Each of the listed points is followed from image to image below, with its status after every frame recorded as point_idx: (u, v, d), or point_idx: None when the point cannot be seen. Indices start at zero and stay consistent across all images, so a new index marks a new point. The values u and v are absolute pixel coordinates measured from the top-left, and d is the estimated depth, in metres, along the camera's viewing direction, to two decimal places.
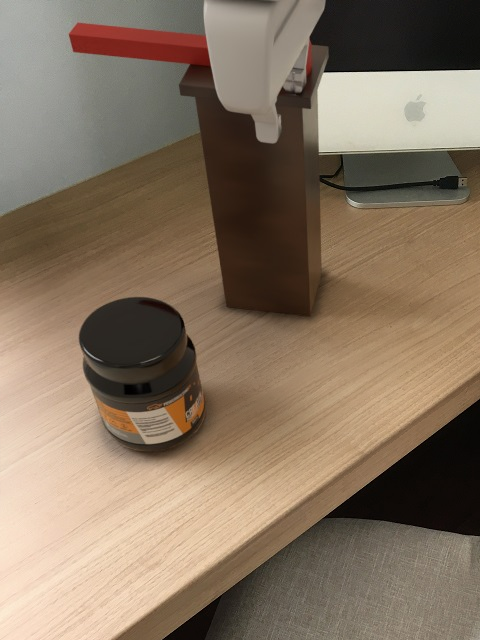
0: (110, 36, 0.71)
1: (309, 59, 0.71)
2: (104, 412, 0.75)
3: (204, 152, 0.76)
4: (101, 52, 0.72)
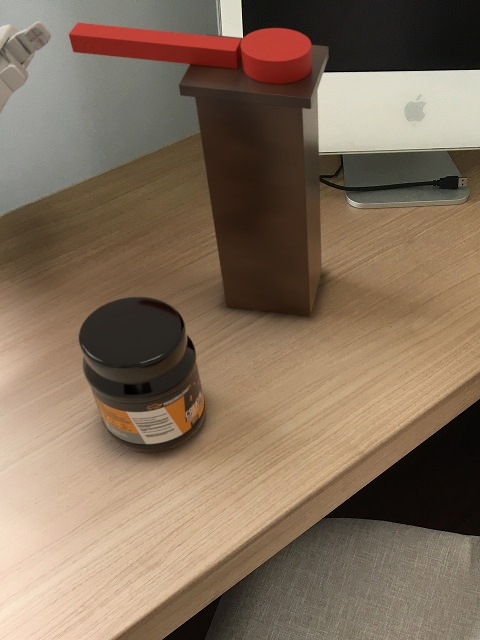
0: (110, 36, 0.71)
1: (309, 59, 0.71)
2: (104, 412, 0.75)
3: (204, 152, 0.76)
4: (101, 52, 0.72)
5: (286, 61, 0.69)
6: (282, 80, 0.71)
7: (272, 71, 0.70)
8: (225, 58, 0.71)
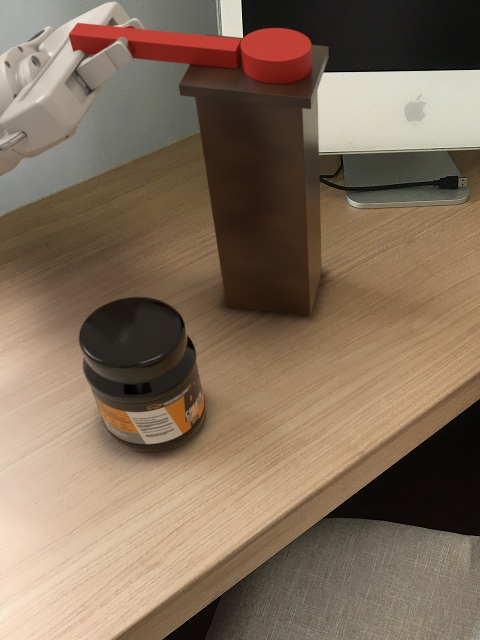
0: (110, 37, 0.71)
1: (309, 59, 0.71)
2: (104, 412, 0.75)
3: (204, 152, 0.76)
4: None
5: (286, 61, 0.69)
6: (282, 80, 0.71)
7: (272, 71, 0.70)
8: (225, 58, 0.71)
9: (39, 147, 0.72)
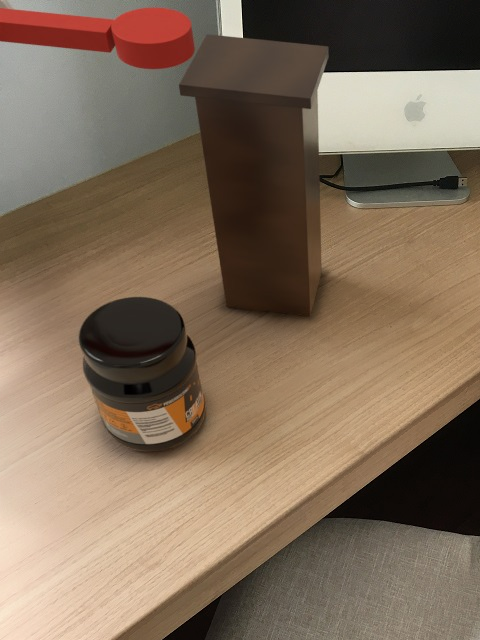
0: None
1: (188, 42, 0.64)
2: (104, 412, 0.75)
3: (204, 152, 0.76)
4: None
5: (159, 43, 0.62)
6: (158, 65, 0.64)
7: (145, 54, 0.63)
8: (95, 41, 0.64)
9: None
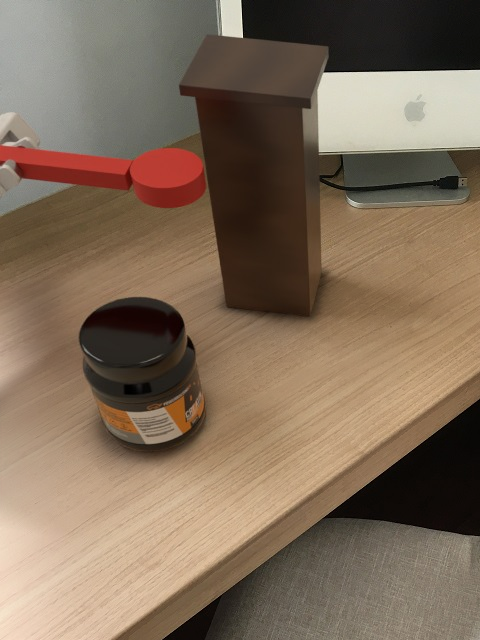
0: None
1: (200, 182, 0.70)
2: (104, 412, 0.75)
3: (204, 152, 0.76)
4: None
5: (174, 187, 0.68)
6: (172, 205, 0.69)
7: (161, 196, 0.69)
8: (115, 181, 0.70)
9: None
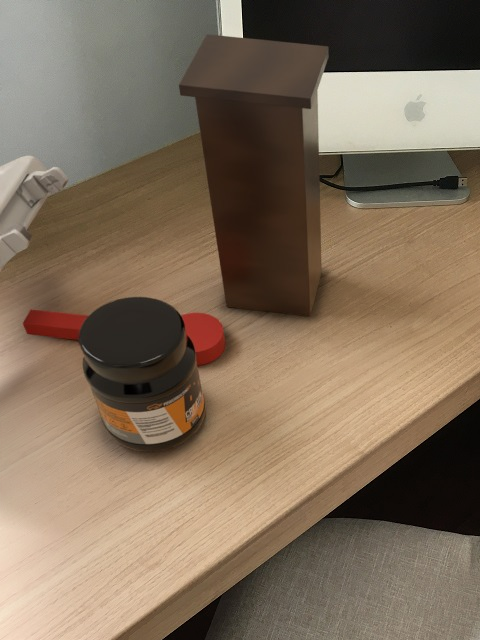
0: (56, 325, 0.86)
1: (221, 343, 0.86)
2: (104, 412, 0.75)
3: (204, 152, 0.76)
4: (50, 335, 0.87)
5: (201, 351, 0.85)
6: (199, 363, 0.86)
7: None
8: None
9: None
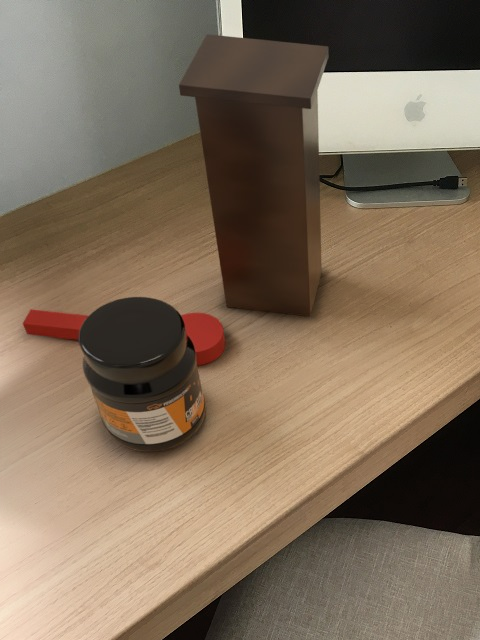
0: (56, 325, 0.86)
1: (221, 343, 0.86)
2: (104, 412, 0.75)
3: (204, 152, 0.76)
4: (50, 335, 0.87)
5: (201, 351, 0.85)
6: (199, 363, 0.86)
7: None
8: None
9: None
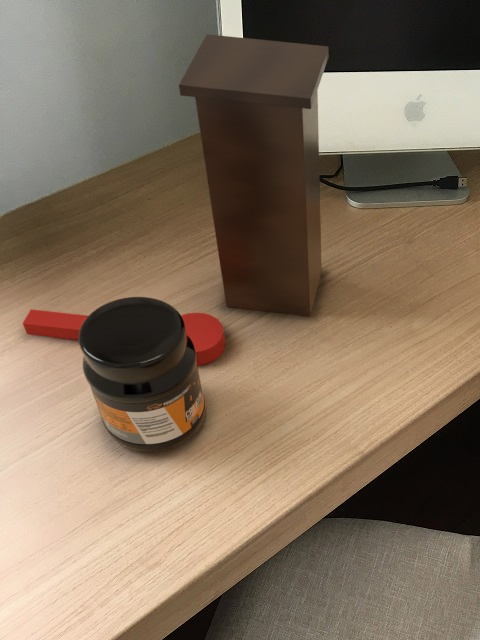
0: (56, 325, 0.86)
1: (221, 343, 0.86)
2: (104, 412, 0.75)
3: (204, 152, 0.76)
4: (50, 335, 0.87)
5: (201, 351, 0.85)
6: (199, 363, 0.86)
7: None
8: None
9: None
